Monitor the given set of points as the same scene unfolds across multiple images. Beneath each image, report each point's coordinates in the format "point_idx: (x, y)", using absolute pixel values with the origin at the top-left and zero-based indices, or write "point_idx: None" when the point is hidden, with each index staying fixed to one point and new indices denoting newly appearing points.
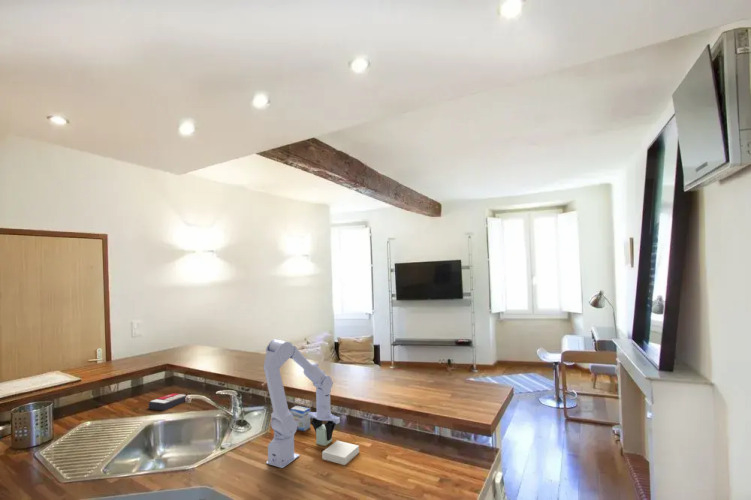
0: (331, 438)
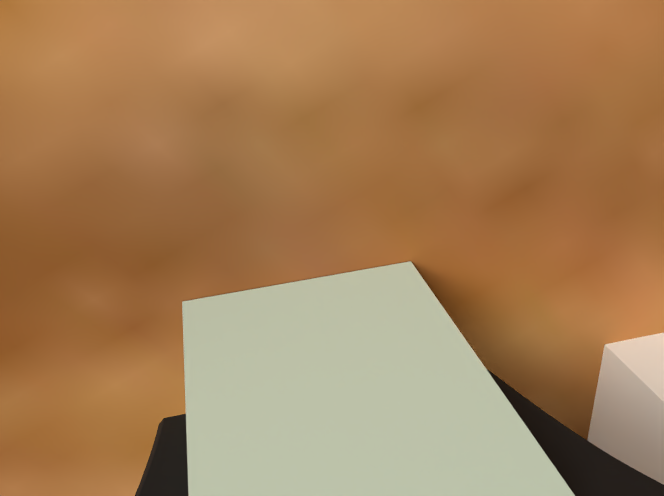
0: (431, 305)
